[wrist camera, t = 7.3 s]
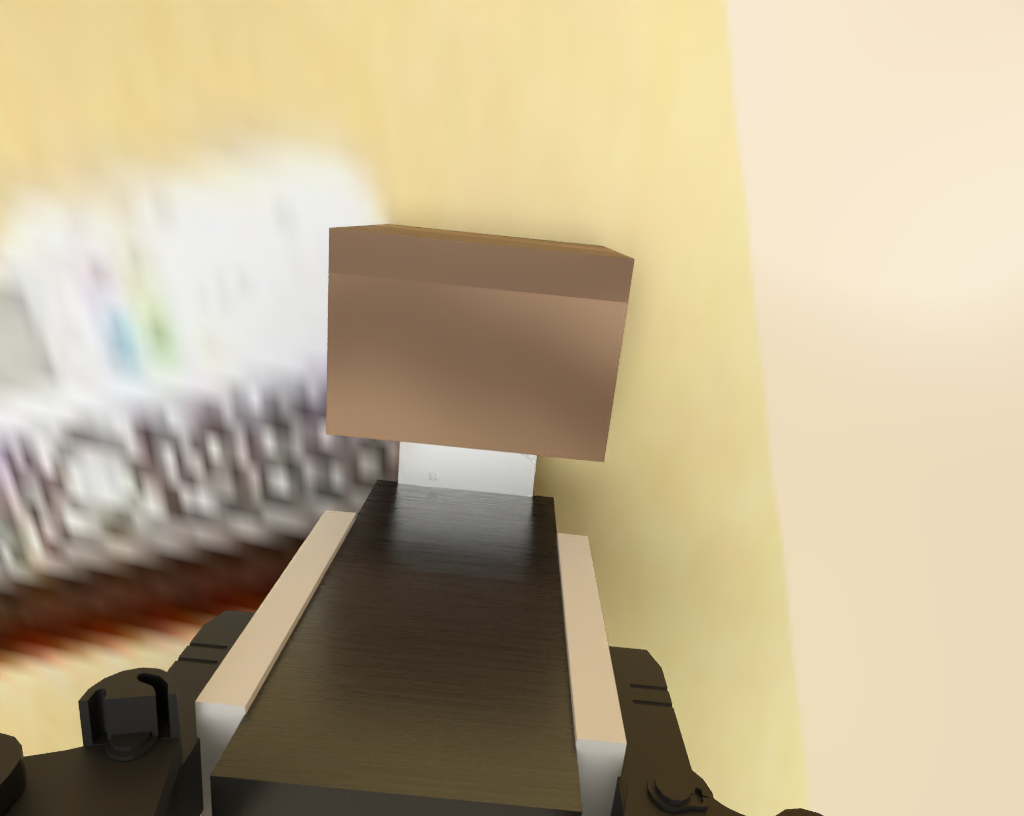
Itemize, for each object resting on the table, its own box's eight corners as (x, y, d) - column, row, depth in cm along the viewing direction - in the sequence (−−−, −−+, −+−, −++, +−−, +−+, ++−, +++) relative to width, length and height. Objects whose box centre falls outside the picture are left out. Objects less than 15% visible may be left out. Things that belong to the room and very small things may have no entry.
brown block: (582, 394, 22) (603, 462, 16) (381, 373, 22) (326, 434, 16) (602, 246, 21) (634, 259, 15) (387, 224, 21) (329, 227, 15)
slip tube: (503, 822, 26) (480, 1420, 13) (382, 811, 26) (240, 1398, 13) (567, 300, 20) (641, 457, 7) (410, 284, 20) (193, 412, 7)
